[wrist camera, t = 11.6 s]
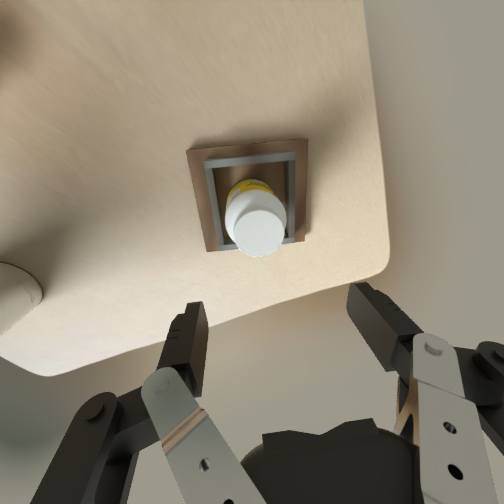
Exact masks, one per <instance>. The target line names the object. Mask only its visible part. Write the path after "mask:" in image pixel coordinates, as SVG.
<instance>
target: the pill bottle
mask: <svg viewBox="0 0 504 504" xmlns="http://www.w3.org/2000/svg"><path fill="white" fill-rule="evenodd" d="M225 226H226V230H227V232H228V234H229V236H230V238H231V239H232V240H233V241H234V242H235V243H236V245H237V247H238V248H239V249H240V250H241V251H242V252H243V253H245V254H247V255H249V256H253V257H263V256H267V255H269V254H271V253H273V252H275V251H276V250H277V249H278V248H279V247H280V245H281V244H282V242H283V239H284V234H285V231H284V230H285V227H286V212H285V209H284V207H283V205H282V203H281V202H280V200H279V199H278V198H277V196H276V195H275V194H274V192H273V191H272V190H271V188H270V187H269V186H268V185H267V184H266V183H265V182H263V181H261V180H258V179H254V178H248V179H244V180H241V181H239V182H238V183H236V184H235V185H234V186H233V187H232V188H231V190H230V192H229V194H228V197H227V205H226V213H225Z"/></svg>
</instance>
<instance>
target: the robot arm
mask: <svg viewBox="0 0 504 504" xmlns="http://www.w3.org/2000/svg"><path fill="white" fill-rule="evenodd" d="M41 299H42V290H41V288H40V286H39V284H38V283H37V281H36V280H35V279H34V278H33V277H32V276H31V275H29V274H28V273H26V272H25V271H23V270H21V269H19V268H17V267H15V266H12V265H9V264H5V263H0V337H1V336H2V335H3V334H4V333H5V332H6V331H8V330H9V329H10V328H11V327H12V326H13V325H15V324H16V323H17V322H18V321H19V320H20V319H22V318H23V317H24V316H25V315H26V314H27V313H29V312H30V311H31V310H32V309H33V308H34V307H36V306H37V305H38V304H39V303H40V301H41ZM347 312H348V315H349V317H350V318H351V320H352V321H353V323H354V324H355V326H356V327H357V329H358V330H359V332H360V333H361V335H362V336H363V338H364V339H365V341H366V342H367V344H368V345H369V347H370V348H371V350H372V351H373V353H374V354H375V356H376V357H377V359H378V360H379V362H380V363H381V365H382V366H383V368H384V369H385V371H386V372H389V371H397V373H398V374H399V377H398V387H397V405H396V420H395V425H394V430H393V433H392V432H390V431H388V430H385V429H381V428H377V426H376V425H375V423H374V421H373V419H372V418H369V419H362V420H356V421H349V422H345V423H343V424H341V425H339V426H337V427H335V428H333V429H331V430H330V431H328V432H326V433H324V434H321V435H316V434H310V433H303V432H297V431H291V430H288V431H281V432H274V433H267V434H262V437H263V443H262V444H260V445H259V446H257V447H255V448H254V449H253V450H251V451H250V452H249V453H248V454H247V455H246V456H245V457H244V458H243V459H242V461H241V462H239V461H238V459H237V458H236V456H235V455H234V453H233V452H232V450H231V449H230V447H229V446H228V444H227V443H226V441H225V440H224V438H223V437H222V435H221V434H220V432H219V431H218V429H217V428H216V426H215V425H214V423H213V421H212V420H211V419H210V417H209V415H208V414H207V413H206V411H205V410H204V409H201V407H200V406H199V405H198V403H197V402H196V400H195V398H196V397H201V395H202V386H203V376H204V369H205V360H206V351H207V342H208V331H209V330H208V321H207V317H206V313H205V309H204V305H203V302H202V301H200V302H192V303H187V306H186V310H185V313H183V314H178V315H177V316H176V317H175V319H174V320H173V321H172V322H171V326H170V329H169V333H168V335H167V340H166V341H165V344H164V347H163V350H162V354H161V357H160V360H159V363H158V366H157V369H156V371H155V372H153V373H152V374H151V375H150V376H149V377H148V378H147V379H146V381H145V382H144V384H143V386H141V387H139V388H137V389H135V390H133V391H131V392H128V393H126V394H124V395H121V396H119V397H116V396H115V394H113V393H111V392H103V393H100V394H98V395H96V396H94V397H92V398H91V399H89V400H88V401H87V402H85V403H84V404H83V405H82V406H81V408H80V409H79V410H78V411H77V413H76V415H75V416H74V418H73V420H72V422H71V424H70V426H69V428H68V430H67V432H66V434H65V436H64V438H63V440H62V442H61V444H60V446H59V448H58V450H57V452H56V454H55V455H54V458H53V459H52V461H51V463H50V465H49V467H48V469H47V471H46V473H45V475H44V477H43V479H42V481H41V483H40V485H39V487H38V489H37V491H36V493H35V495H34V497H33V499H32V501H31V503H30V504H127V500H128V496H129V491H130V488H131V483H132V479H133V475H134V471H135V467H136V463H137V459H138V455H139V451H140V450H142V449H144V448H146V447H148V446H150V445H152V444H153V443H155V442H157V441H159V440H161V443H162V448H163V451H164V453H165V456H166V458H167V460H168V463H169V465H170V467H171V470H172V472H173V474H174V477H175V479H176V481H177V484H178V486H179V488H180V491H181V493H182V495H183V498H184V500H185V502H186V504H498V500H497V496H496V491H495V487H494V483H493V478H492V474H491V469H490V465H489V460H488V456H487V452H486V448H485V443H484V439H483V434H482V430H483V431H484V432H485V433H486V434H487V436H488V437H489V438H490V439H491V441H492V442H493V443H494V444H495V446H496V447H497V448H498V449H499V451H500V452H501V453H502V454H503V456H504V345H502V344H499V343H496V342H490V341H485V342H481V343H480V344H479V345H478V347H477V348H476V350H473V349H466V348H459V347H452V346H451V345H450V344H449V343H448V342H447V341H445V340H444V339H442V338H440V337H438V336H435V335H432V334H427V333H424V332H423V331H422V330H421V329H420V328H419V327H418V326H417V325H416V324H415V323H414V322H413V321H412V320H411V319H410V318H409V317H408V316H407V315H406V314H405V313H404V312H403V311H402V310H401V309H400V308H399V307H398V306H397V305H396V304H395V303H394V302H393V301H392V300H391V299H390V298H389V297H388V296H387V295H386V294H384V293H382V292H380V291H379V290H374V289H373V288H372V287H371V286H370V285H369V284H368V283H367V282H359V283H351V284H350V286H349V292H348V299H347ZM481 428H482V430H481Z"/></svg>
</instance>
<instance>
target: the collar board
mask: <svg viewBox="0 0 504 504" xmlns="http://www.w3.org/2000/svg"><path fill="white" fill-rule="evenodd" d="M186 153H187V158H188V163H189V168H190V173H191V178H192V182H193V187H194V192H195V197H196V202H197V207H198V212H199V217H200V221H201V226H202V231H203V236H204V241H205V246H206V251H207V252H211V251H224V250H233V249H239V248H238V247H237V245H236V243H235V242H234V241H233V240H232V239H231V238H230V236H229V234H228V232H227V230H226V226H225V213H226V205H227V197H228V194H229V192H230V190H231V188H232V187H233V186H234V185H235V184H236V183H238V182H239V181H241V180H244V179H248V178H254V179H258V180H261V181H263V182H265V183H266V184H267V185H268V186H269V187H270V188H271V190H272V191H273V192H274V194H275V195H276V196H277V198H278V199H279V200H280V202H281V203H282V205H283V207H284V209H285V212H286V227H285V230H284V231H285V234H284V239H283V242H282V244H287V243H295V242H301V241H305V212H306V183H307V153H308V139H296V140H285V141H275V142H264V143H254V144H243V145H233V146H222V147H212V148H201V149H191V150H186Z"/></svg>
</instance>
